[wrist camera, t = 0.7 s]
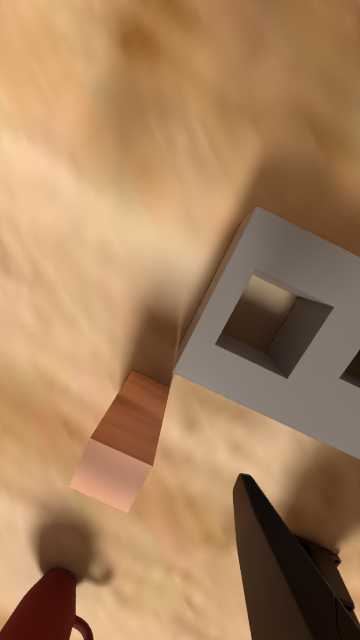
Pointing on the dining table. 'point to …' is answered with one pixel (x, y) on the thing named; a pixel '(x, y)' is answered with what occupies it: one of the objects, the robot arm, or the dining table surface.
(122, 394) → the peg
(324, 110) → the dining table surface
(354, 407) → the socket board
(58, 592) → the mug
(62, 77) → the dining table surface
